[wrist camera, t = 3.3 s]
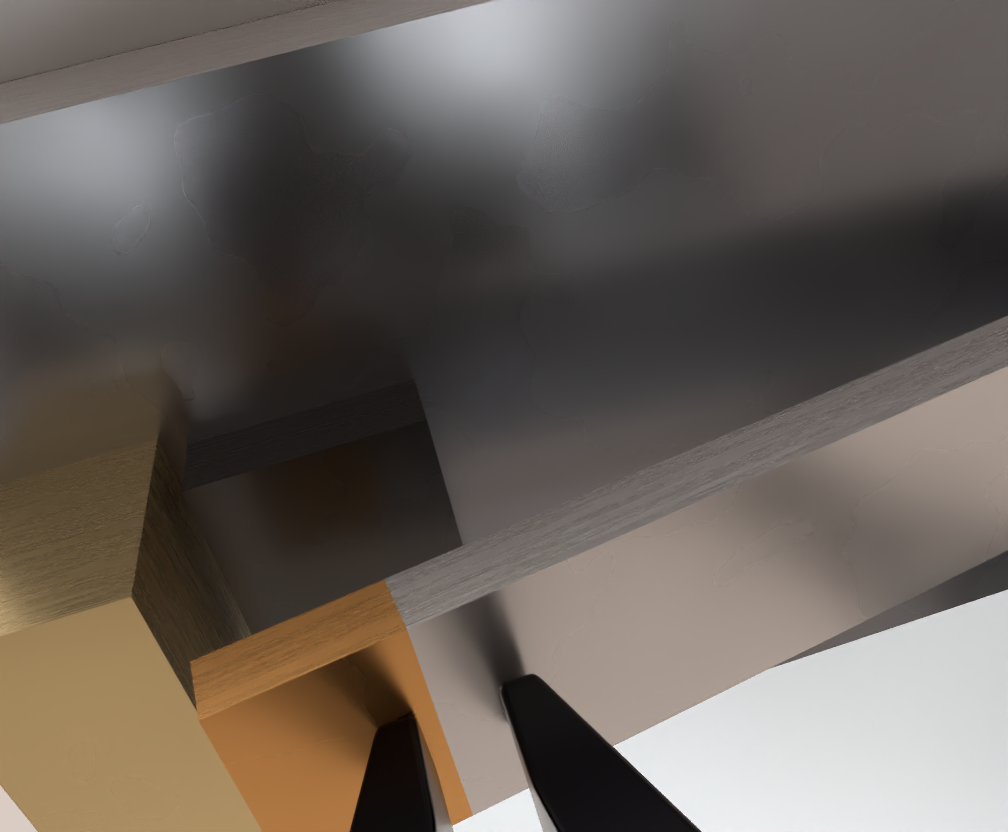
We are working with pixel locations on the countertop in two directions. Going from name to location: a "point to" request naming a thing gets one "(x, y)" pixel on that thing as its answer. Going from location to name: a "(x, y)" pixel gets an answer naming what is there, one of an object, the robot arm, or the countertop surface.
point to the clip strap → (629, 591)
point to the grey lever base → (432, 313)
